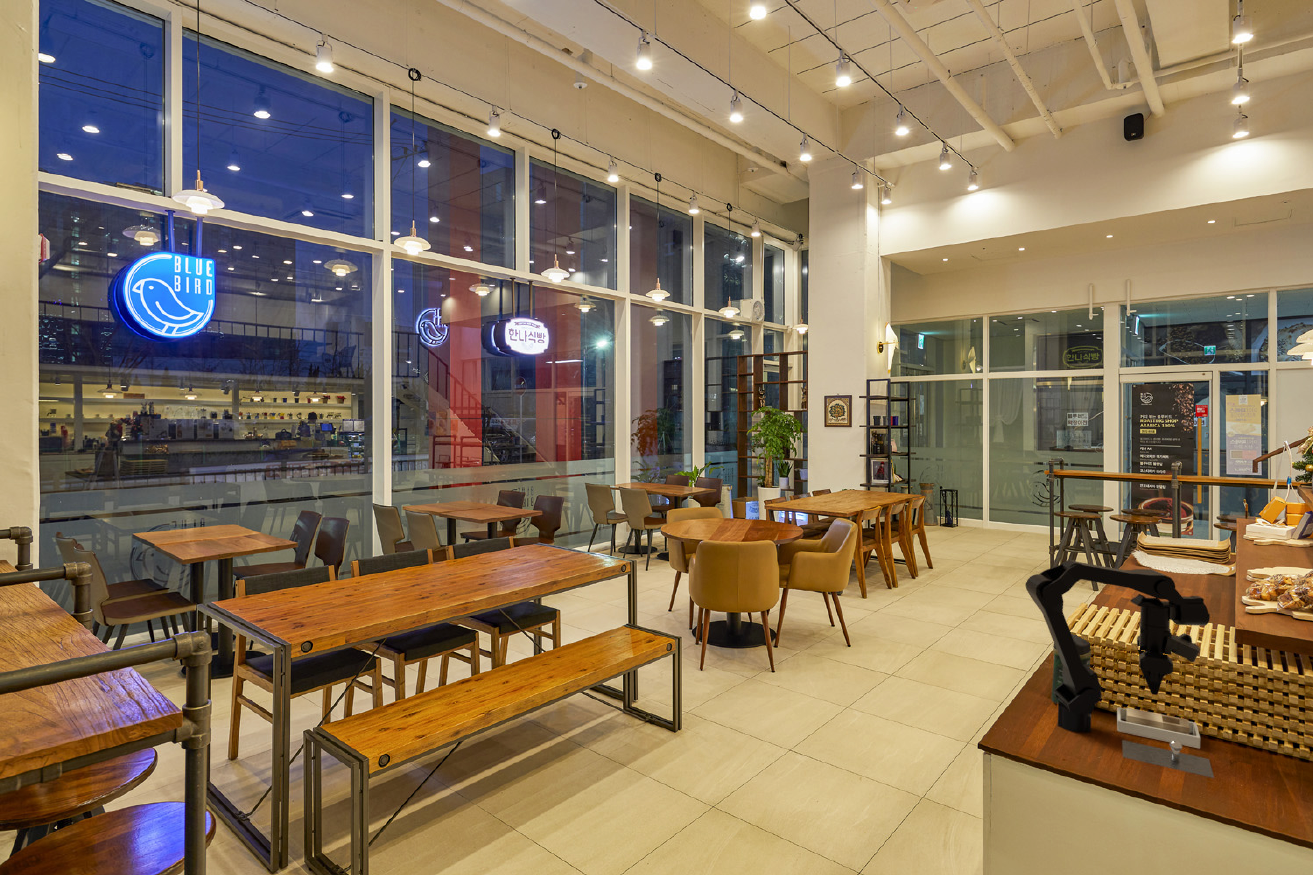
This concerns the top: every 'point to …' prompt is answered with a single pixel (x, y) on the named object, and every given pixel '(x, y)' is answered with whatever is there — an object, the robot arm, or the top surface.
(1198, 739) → the tray
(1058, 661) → the coffee jar
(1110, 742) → the top surface
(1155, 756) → the stud base
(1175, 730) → the beige rectangular block
